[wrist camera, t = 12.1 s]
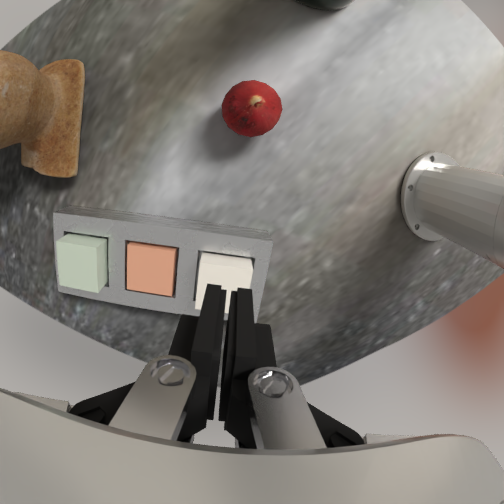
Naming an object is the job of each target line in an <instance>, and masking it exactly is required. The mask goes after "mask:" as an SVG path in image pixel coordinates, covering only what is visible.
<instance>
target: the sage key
mask: <svg viewBox="0 0 504 504" xmlns="http://www.w3.org/2000/svg"><path fill="white" fill-rule="evenodd" d="M56 247H57V263H58V274H59V284H60V285H61V286H66V287H71V288H75V289H80V290H85V291H90V292H95V293H99V292H100V290H101V289H102V288H103V287H104V285H105V284H106V283H107V282H108V276H107V239H105V238H98V237H91V236H84V235H77V234H70V233H69V234H67V235H65V236H64V237H62V238H60V239H59V240H57V241H56Z"/></svg>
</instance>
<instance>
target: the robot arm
mask: <svg viewBox="0 0 504 504" xmlns="http://www.w3.org/2000/svg"><path fill="white" fill-rule="evenodd" d="M401 207H402V213H403V216H404V219H405V222H406V224H407V225H408V227H409V229H410V230H411V231H412V232H413V233H414V234H415V235H417V236H418V237H420V238H422V239H424V240H428V241H438V240H441V239H443V238H447V239H449V240H451V241H453V242H455V243H457V244H459V245H461V246H463V247H464V248H466V249H468V250H470V251H472V252H474V253H476V254H478V255H479V256H481V257H483V258H485V259H487V260H488V261H490V262H492V263H494V264H495V265H497V266H499V267H501V268H502V269H504V175H500V174H496V173H491V172H486V171H481V170H476V169H471V168H465V167H460V166H459V165H458V163H457V162H456V161H455V160H454V159H453V158H452V157H450V156H449V155H447V154H445V153H442V152H428V153H425V154H423V155H421V156H420V157H418V158H417V159H416V160H415V161H414V162H413V163H412V164H411V166H410V167H409V169H408V171H407V173H406V175H405V178H404V181H403V185H402V190H401ZM221 287H222V285H215V284H208V283H207V287H206V291H205V295H204V299H203V303H202V307H201V311H200V316H193V315H186V314H182V315H181V318H180V321H179V324H178V327H177V330H176V333H175V336H174V339H173V342H172V345H171V348H170V351H169V354H168V355H163V356H159V357H156V358H154V359H152V360H150V361H149V363H148V364H147V365H146V366H145V368H144V369H143V371H142V372H141V374H140V376H139V377H138V379H137V381H136V382H134V383H131V384H128V385H126V386H123V387H120V388H117V389H115V390H112V391H109V392H106V393H104V394H101V395H98V396H95V397H92V398H89V399H86V400H83V401H81V402H79V403H77V404H76V405H74V406H73V405H69V402H68V401H62V400H55V399H49V398H44V397H38V396H33V395H28V394H24V393H19V392H11V391H8V390H5V389H1V388H0V504H504V470H503V469H502V467H501V465H500V464H499V462H498V461H497V459H496V458H495V456H494V455H493V454H492V452H491V451H490V450H489V449H488V447H487V446H486V445H485V444H484V443H482V442H481V441H479V440H478V439H476V438H473V437H469V436H464V435H455V434H434V435H427V436H401V435H379V434H366V435H365V436H364V437H361V436H360V435H359V434H358V433H357V432H355V431H354V430H352V429H351V428H349V427H347V426H345V425H344V424H342V423H340V422H339V421H337V420H335V419H334V418H332V417H330V416H329V415H327V414H325V413H324V412H322V411H320V410H319V409H317V408H316V407H314V406H312V405H311V404H309V403H308V402H306V400H305V397H304V395H303V393H302V390H301V388H300V386H299V383H298V381H297V380H296V378H295V377H294V376H293V375H292V374H291V373H289V372H287V371H285V370H283V369H280V368H277V367H276V360H275V353H274V347H273V340H272V333H271V327H270V325H269V324H259V323H254V309H253V294H252V289H247V288H239V287H238V288H237V291H231V297H230V305H229V312H228V320H227V328H226V335H225V343H224V352H223V364H222V377H221V391H220V405H219V421H225V424H224V430H227V431H228V432H229V433H230V434H232V435H233V436H234V437H235V448H229V447H218V446H208V445H200V444H193V441H194V434H195V433H197V432H199V431H201V430H202V429H204V428H206V422H207V419H208V420H213V418H214V408H215V399H216V390H217V382H218V373H219V364H220V355H221V345H222V334H223V324H224V314H225V304H226V294H227V290H224V289H221Z"/></svg>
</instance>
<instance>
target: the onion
mask: <svg viewBox="0 0 504 504" xmlns="http://www.w3.org/2000/svg"><path fill="white" fill-rule="evenodd" d="M281 112H282V105H281V100H280V97H279V96H278V94H277V93H276V91H275V90H274V89H273V88H271V87H270V86H268V85H267V84H266V83H262V82H259V81H256V80H251V81H242V82H240V83H238V84H237V85H235V86H233V87H232V88H231V89H230V90H229V92H228V93H227V94H226V95H225V98H224V100H223V103H222V116H223V118H224V120H225V122H226V124H227V126H228V127H229V128H230V129H232V130H233V131H234V132H236V133H237V134H239V135H243V136H248V137H254V136H259V135H263V134H265V133H266V132H268V131H270V130H271V129H273V127H274V126H275V125H276V123H277V122H278V121H279V118H280V115H281Z"/></svg>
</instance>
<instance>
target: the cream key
mask: <svg viewBox="0 0 504 504" xmlns="http://www.w3.org/2000/svg"><path fill="white" fill-rule="evenodd" d="M252 274H253V266H252V262H251V259H249V258H241V257H234V256H227V255H219V254H212V253H205V252H202V255H201V260H200V266H199V275H198V284H197V293H196V303H195V309H198V310H201V307H202V303H203V299H204V295H205V291H206V287H207V283H208V284H215V285H222V287H221V289H224V290H227V294H226V304H225V313H228V312H229V305H230V297H231V291H237V288H238V287H239V288H247V289H250V284H251V279H252Z"/></svg>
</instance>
